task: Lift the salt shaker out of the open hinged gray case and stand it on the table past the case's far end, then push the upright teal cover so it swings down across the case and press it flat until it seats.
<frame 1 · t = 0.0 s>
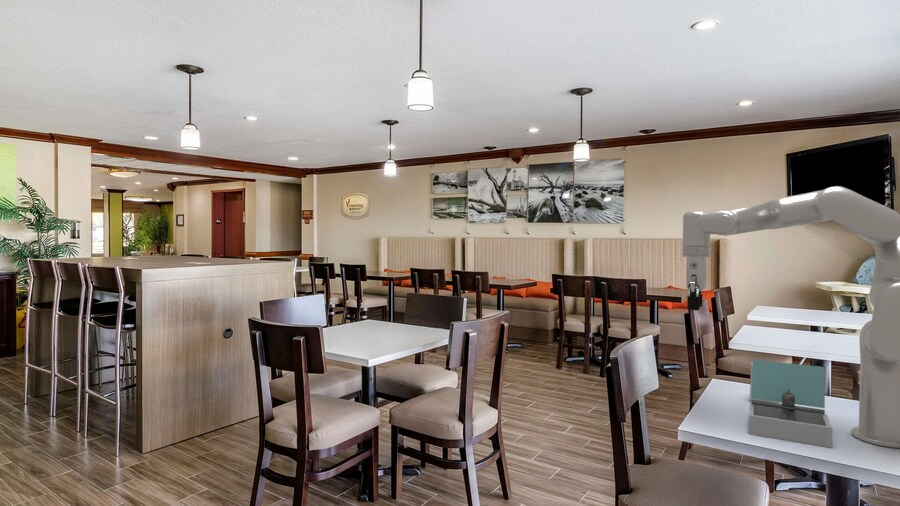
hand: (694, 308, 158), 31 cm above the table, tool pointing down, fingers open, 9 cm apart
supplement box: (764, 402, 167), on the table
cover: (787, 385, 145), point 11 cm above the table, hinge at 103.0°
hinged gray case: (787, 433, 140), on the table
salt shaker: (787, 434, 140), resting in hinged gray case
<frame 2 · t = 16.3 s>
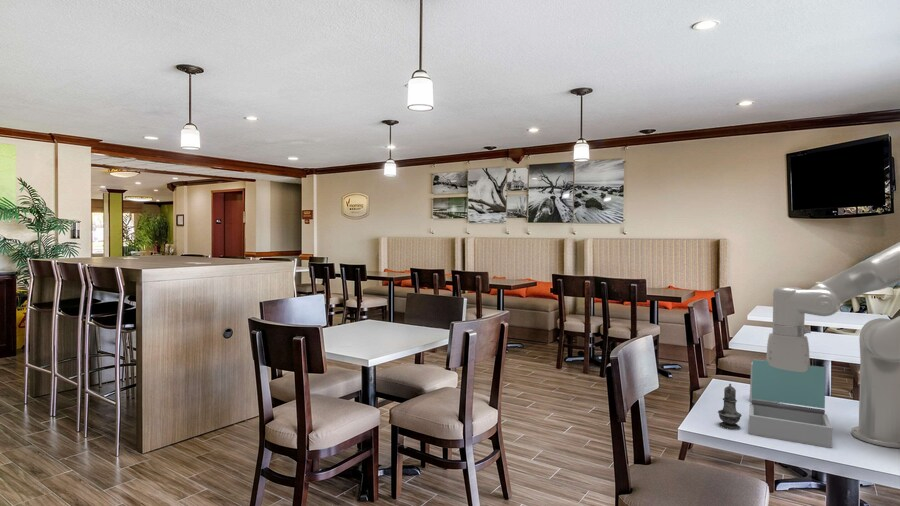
hand: (786, 395, 146), 8 cm above the table, tool pointing down, fingers closed
cover: (787, 386, 144), point 11 cm above the table, hinge at 95.4°, touching gripper
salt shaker: (729, 426, 145), on the table
everything else where it was.
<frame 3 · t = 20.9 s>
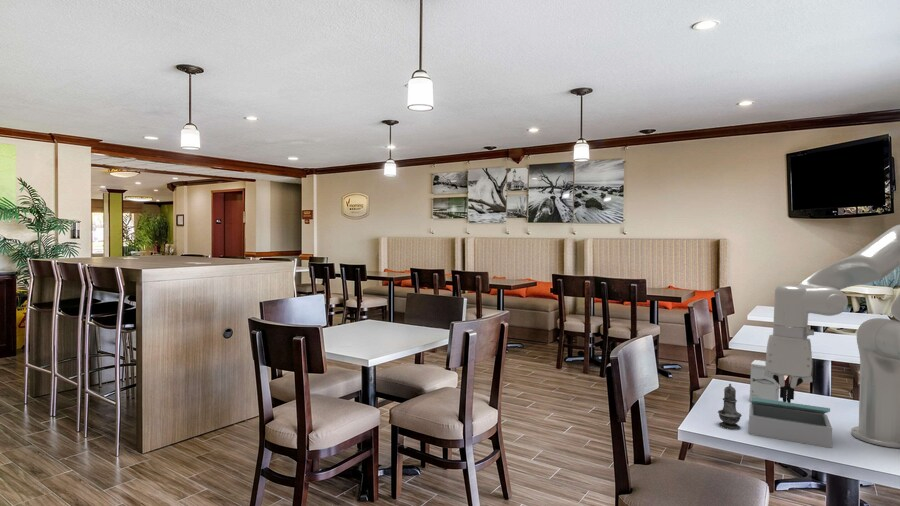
hand: (786, 401, 137), 10 cm above the table, tool pointing down, fingers closed
cover: (788, 405, 139), point 8 cm above the table, hinge at 18.5°, touching gripper
everything else where it was.
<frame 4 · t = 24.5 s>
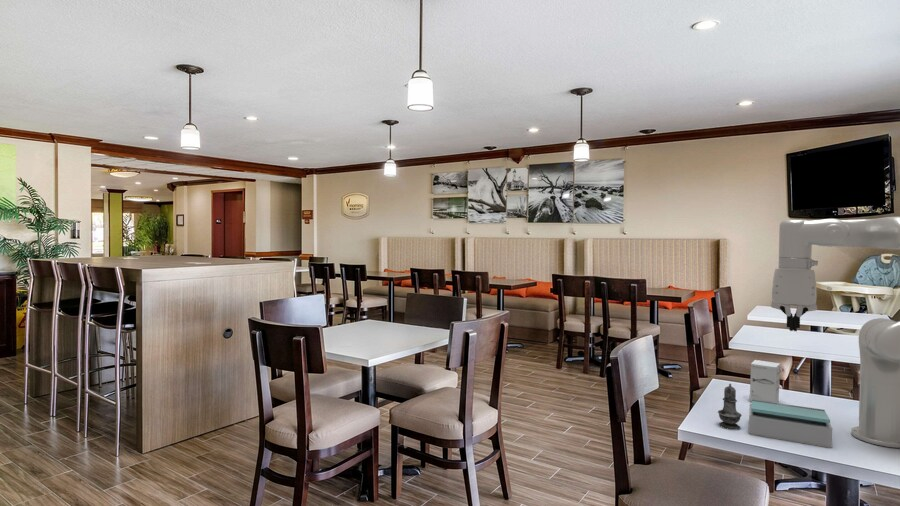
hand: (793, 330, 143), 27 cm above the table, tool pointing down, fingers closed
cover: (788, 410, 139), point 6 cm above the table, hinge at 4.9°
everything else where it was.
at the end: cover at +5° (first picture: +103°); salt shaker inside the target area (0.2 cm from its centre), on the table; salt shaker tilted 0° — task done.
